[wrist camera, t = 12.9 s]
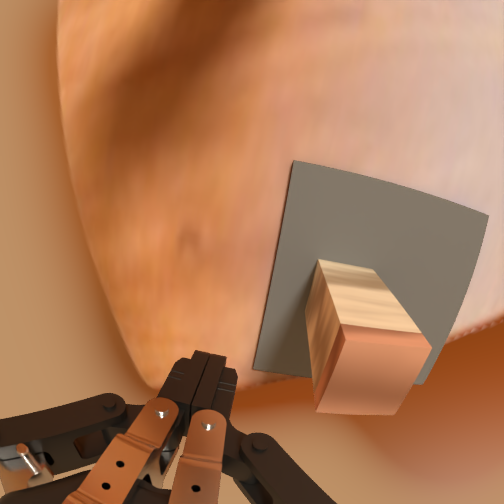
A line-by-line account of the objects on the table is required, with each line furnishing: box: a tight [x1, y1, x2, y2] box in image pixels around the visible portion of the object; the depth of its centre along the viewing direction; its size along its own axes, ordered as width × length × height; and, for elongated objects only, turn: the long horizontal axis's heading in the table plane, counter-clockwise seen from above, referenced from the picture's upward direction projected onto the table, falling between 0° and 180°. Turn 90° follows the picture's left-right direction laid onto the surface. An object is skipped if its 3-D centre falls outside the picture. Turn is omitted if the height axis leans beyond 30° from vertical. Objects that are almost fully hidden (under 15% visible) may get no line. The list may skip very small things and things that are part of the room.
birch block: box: [305, 259, 432, 415], centre depth 19 cm, size 5×5×12 cm
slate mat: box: [253, 160, 489, 384], centre depth 24 cm, size 20×20×1 cm
